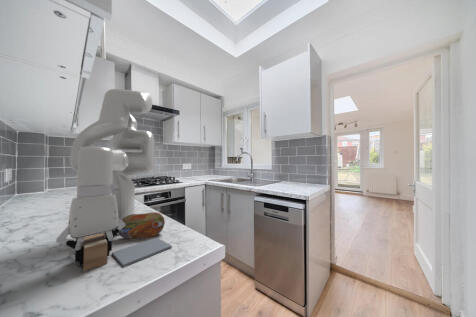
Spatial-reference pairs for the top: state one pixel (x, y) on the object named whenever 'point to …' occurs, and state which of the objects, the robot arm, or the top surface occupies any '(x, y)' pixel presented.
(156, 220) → the tin
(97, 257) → the card box
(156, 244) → the mat
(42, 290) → the top surface
